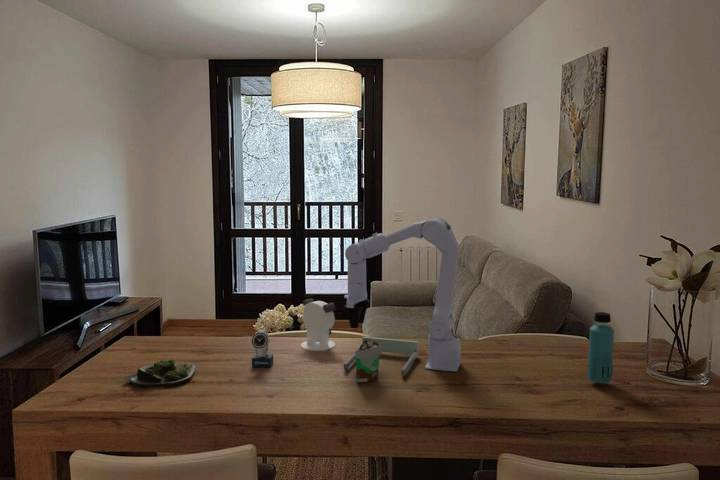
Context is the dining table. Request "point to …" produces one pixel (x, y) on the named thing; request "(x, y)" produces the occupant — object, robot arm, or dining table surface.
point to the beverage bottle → (601, 350)
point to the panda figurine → (318, 325)
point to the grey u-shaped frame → (393, 351)
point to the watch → (261, 350)
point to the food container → (367, 361)
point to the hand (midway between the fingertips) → (357, 325)
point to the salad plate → (162, 374)
